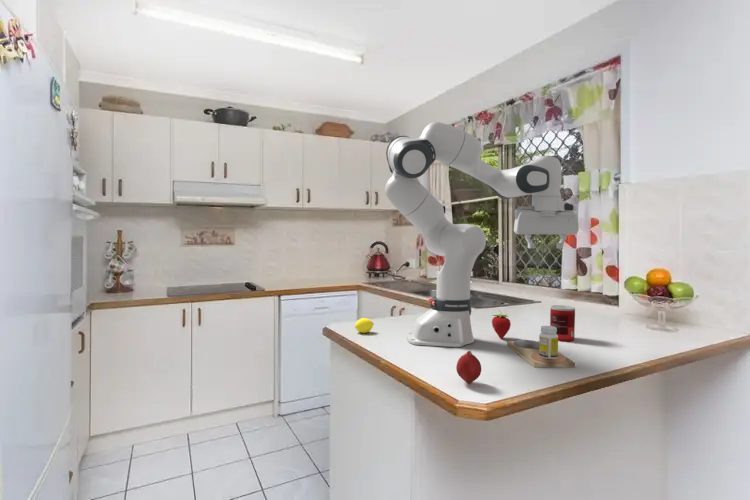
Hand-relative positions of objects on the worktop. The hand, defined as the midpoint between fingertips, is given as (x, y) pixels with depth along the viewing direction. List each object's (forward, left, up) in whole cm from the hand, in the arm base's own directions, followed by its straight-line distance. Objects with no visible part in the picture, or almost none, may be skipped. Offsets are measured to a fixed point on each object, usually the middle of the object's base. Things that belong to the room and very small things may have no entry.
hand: (545, 248), depth 133 cm
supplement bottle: (-8, -22, -30) cm, 38 cm away
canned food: (+8, +4, -31) cm, 33 cm away
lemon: (-60, +12, -31) cm, 69 cm away
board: (-8, -15, -31) cm, 35 cm away
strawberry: (-13, +4, -31) cm, 34 cm away
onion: (-34, -38, -31) cm, 60 cm away
